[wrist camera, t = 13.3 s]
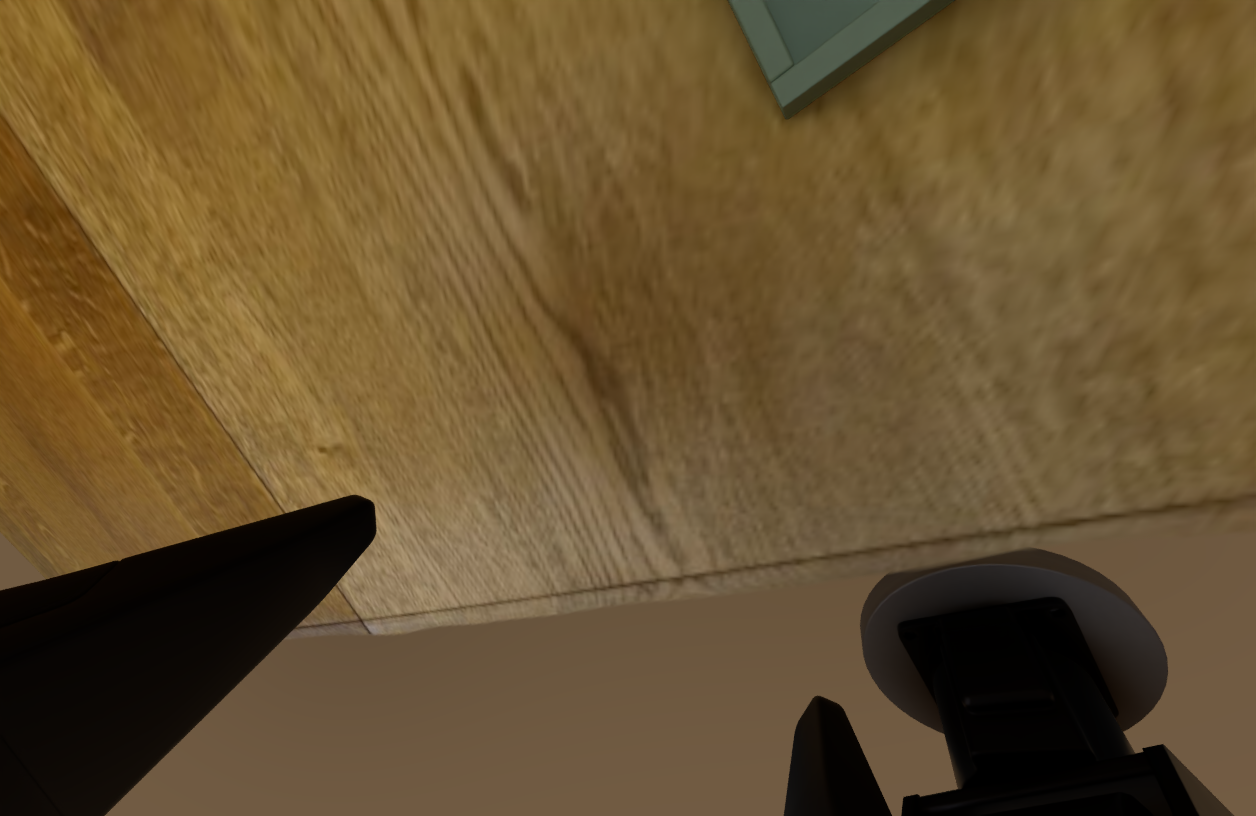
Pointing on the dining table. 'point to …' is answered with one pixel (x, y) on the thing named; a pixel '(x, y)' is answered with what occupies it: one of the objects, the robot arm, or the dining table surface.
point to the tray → (823, 40)
